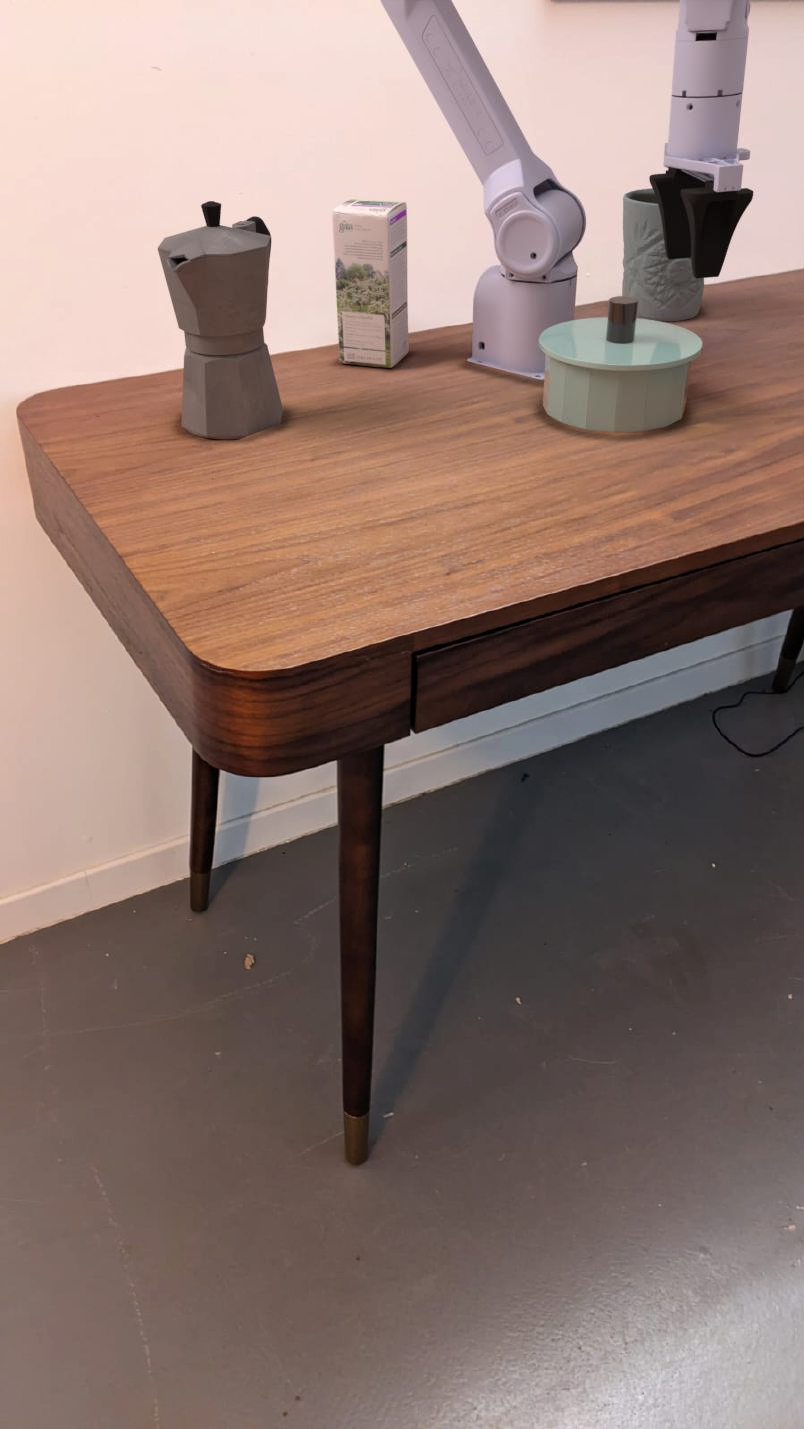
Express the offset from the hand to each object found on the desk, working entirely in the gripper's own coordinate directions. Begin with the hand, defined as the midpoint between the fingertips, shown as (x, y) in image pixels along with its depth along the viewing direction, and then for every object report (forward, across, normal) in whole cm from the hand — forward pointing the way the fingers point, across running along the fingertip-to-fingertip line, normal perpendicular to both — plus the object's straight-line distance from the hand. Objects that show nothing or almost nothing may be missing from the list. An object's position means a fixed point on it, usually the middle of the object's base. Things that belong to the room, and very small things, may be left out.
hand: (692, 267), depth 100 cm
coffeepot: (+9, -3, +42) cm, 43 cm away
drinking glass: (+10, +24, -5) cm, 27 cm away
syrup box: (+9, +12, +28) cm, 32 cm away
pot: (+10, -7, +8) cm, 15 cm away
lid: (+4, -7, +8) cm, 12 cm away
